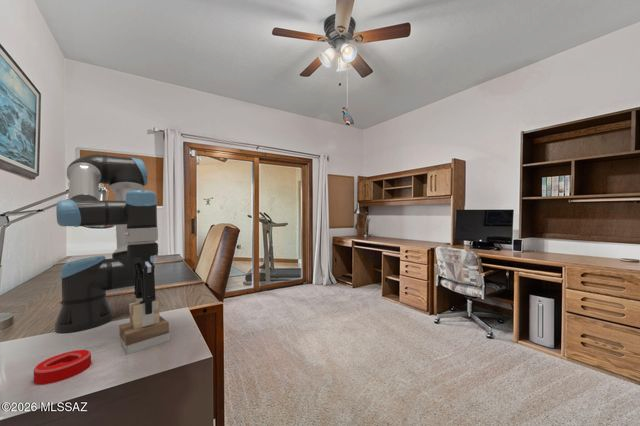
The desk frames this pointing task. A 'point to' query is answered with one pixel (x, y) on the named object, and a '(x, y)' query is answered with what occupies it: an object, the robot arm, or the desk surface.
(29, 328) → the desk surface
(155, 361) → the desk surface
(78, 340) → the desk surface
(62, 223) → the robot arm
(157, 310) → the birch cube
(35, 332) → the desk surface
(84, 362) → the decorative ornament
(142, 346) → the slab bottom
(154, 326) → the slab top
